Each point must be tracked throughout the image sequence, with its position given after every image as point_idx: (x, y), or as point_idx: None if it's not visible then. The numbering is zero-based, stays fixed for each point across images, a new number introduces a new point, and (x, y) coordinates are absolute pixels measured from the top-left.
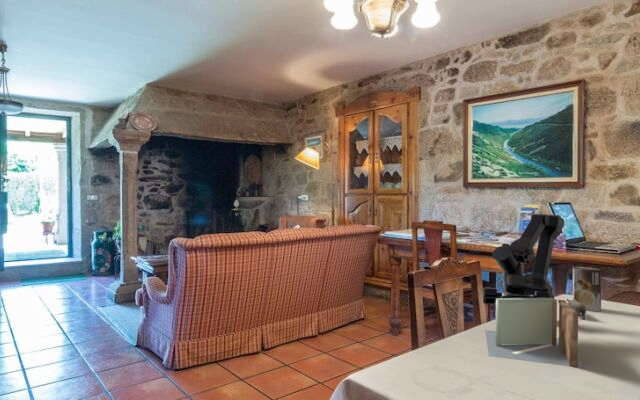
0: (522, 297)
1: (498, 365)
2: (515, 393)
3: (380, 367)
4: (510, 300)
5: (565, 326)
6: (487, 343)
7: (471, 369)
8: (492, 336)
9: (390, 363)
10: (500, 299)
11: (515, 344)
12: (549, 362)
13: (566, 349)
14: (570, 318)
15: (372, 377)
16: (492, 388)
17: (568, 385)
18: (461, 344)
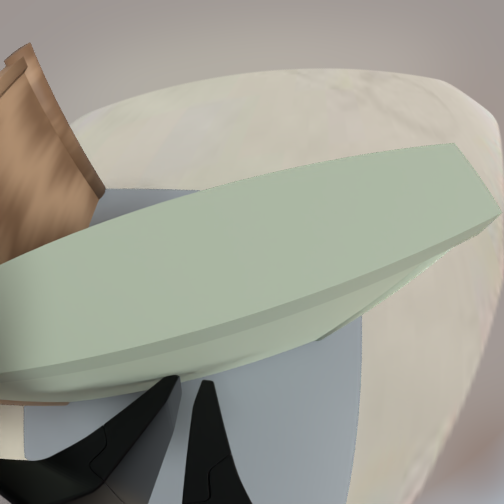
0: (11, 502)
1: (321, 156)
2: (291, 71)
3: (495, 139)
4: (288, 180)
5: (6, 202)
6: (359, 343)
7: (381, 131)
8: (323, 457)
9: (496, 152)
10: (443, 151)
11: (226, 370)
12: (153, 195)
13: (65, 231)
14: (38, 67)
15: (481, 113)
16: (329, 78)
17: (173, 105)
18: (444, 310)
